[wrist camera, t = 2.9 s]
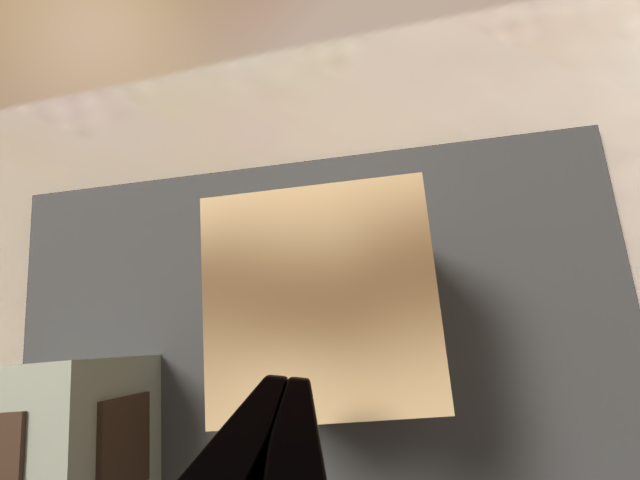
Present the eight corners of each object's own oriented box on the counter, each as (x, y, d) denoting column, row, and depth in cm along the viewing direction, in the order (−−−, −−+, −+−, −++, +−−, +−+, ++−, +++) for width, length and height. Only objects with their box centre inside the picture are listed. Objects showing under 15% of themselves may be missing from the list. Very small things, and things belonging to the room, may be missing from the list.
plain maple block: (424, 384, 19) (454, 416, 11) (276, 394, 19) (205, 431, 11) (406, 237, 20) (422, 172, 12) (268, 252, 21) (199, 198, 13)
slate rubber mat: (746, 816, 15) (758, 832, 15) (7, 796, 18) (-4, 809, 17) (592, 130, 20) (597, 124, 20) (39, 198, 23) (32, 195, 23)
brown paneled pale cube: (166, 506, 19) (65, 584, 13) (25, 512, 20) (-134, 589, 14) (165, 354, 20) (73, 360, 14) (33, 364, 21) (-109, 375, 15)
